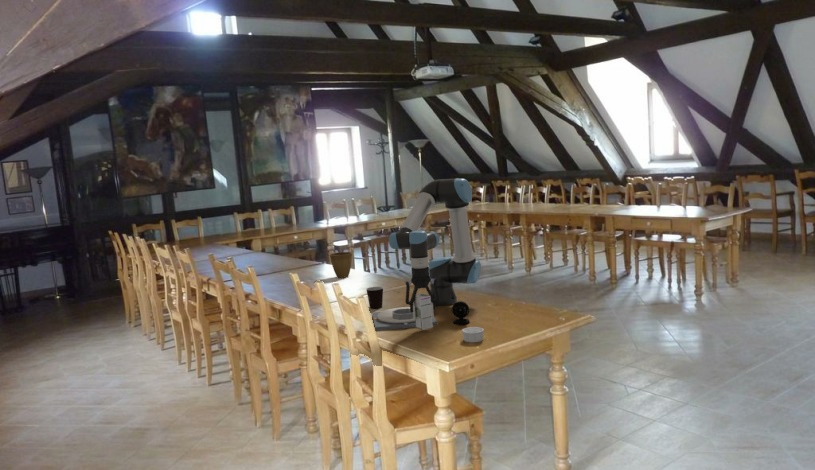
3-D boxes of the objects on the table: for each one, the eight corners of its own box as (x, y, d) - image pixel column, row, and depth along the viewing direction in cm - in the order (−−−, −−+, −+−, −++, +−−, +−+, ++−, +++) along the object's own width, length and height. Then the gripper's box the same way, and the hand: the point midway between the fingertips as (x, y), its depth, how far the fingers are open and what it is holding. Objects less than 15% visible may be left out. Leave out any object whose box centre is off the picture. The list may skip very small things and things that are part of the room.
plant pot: (357, 277, 415) (356, 253, 413) (337, 280, 407) (335, 256, 405) (348, 274, 428) (346, 250, 426) (328, 277, 420) (326, 253, 418)
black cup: (382, 309, 321) (380, 290, 319) (365, 309, 322) (364, 290, 321) (387, 304, 332) (386, 285, 331) (371, 304, 334) (370, 285, 332)
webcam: (452, 325, 282) (450, 303, 280) (453, 321, 289) (452, 299, 288) (469, 325, 281) (468, 303, 279) (470, 320, 288) (469, 299, 287)
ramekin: (472, 344, 252) (471, 334, 251) (458, 340, 259) (457, 329, 259) (488, 339, 257) (488, 329, 257) (474, 335, 264) (473, 325, 264)
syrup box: (433, 327, 274) (431, 295, 272) (421, 330, 272) (419, 297, 270) (426, 324, 279) (424, 292, 277) (415, 327, 276) (412, 295, 275)
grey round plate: (425, 308, 309) (424, 300, 309) (432, 320, 285) (431, 311, 285) (376, 312, 307) (375, 304, 307) (379, 325, 283) (378, 316, 283)
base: (429, 310, 312) (428, 306, 311) (437, 325, 284) (437, 321, 284) (372, 315, 309) (372, 311, 309) (375, 330, 281) (374, 326, 281)
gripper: (397, 270, 267) (401, 322, 270) (444, 266, 269) (447, 318, 272) (396, 267, 275) (399, 318, 278) (441, 263, 276) (445, 314, 279)
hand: (423, 318), depth 275 cm, fingers closed on syrup box, 7 cm apart
